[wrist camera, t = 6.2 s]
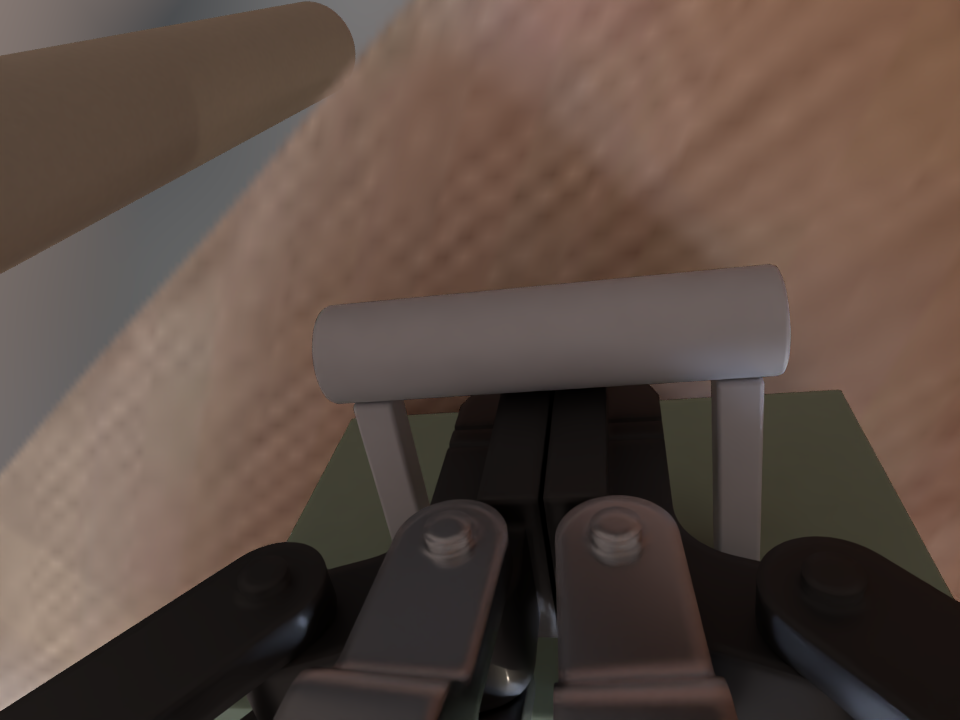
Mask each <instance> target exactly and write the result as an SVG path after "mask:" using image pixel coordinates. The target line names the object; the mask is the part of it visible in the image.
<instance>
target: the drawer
mask: <svg viewBox="0 0 960 720" xmlns="http://www.w3.org/2000/svg"><path fill="white" fill-rule="evenodd" d="M790 343H791V327H790V312H789V303H788V297H787V291H786V287H785V283H784V280H783V277H782V275H781V273H780V271H779V269H778V267H777V266H774V265H771V264H766V265H755V266H745V267H734V268H723V269H713V270H702V271H691V272H681V273H670V274H659V275H649V276H638V277H628V278H617V279H606V280H596V281H585V282H574V283H564V284H553V285H542V286H532V287H521V288H511V289H500V290H489V291H479V292H468V293H457V294H447V295H436V296H425V297H415V298H404V299H394V300H383V301H372V302H362V303H351V304H340V305H331V306H328V307H326V308H324V309H323V310H322V311H321V312H320V313H319V315H318V317H317V319H316V322H315V326H314V330H313V338H312V356H313V364H314V370H315V374H316V378H317V381H318V384H319V386H320V389H321V390H322V392H323V394H324V395H325V397H326V398H327V399H328V400H330V401H331V402H334V403H337V404H344V403H355V404H354V408H353V409H354V413H355V416H356V418H354V419H352V420H351V422H350V423H349V425H348V427H347V429H346V431H345V433H344V435H343V437H342V439H341V440H340V442H339V444H338V446H337V448H336V450H335V452H334V454H333V455H332V457H331V459H330V461H329V463H328V465H327V467H326V469H325V471H324V472H323V474H322V476H321V478H320V480H319V482H318V484H317V486H316V488H315V489H314V491H313V493H312V495H311V497H310V499H309V501H308V503H307V505H306V506H305V508H304V510H303V512H302V514H301V516H300V518H299V520H298V522H297V523H296V525H295V527H294V529H293V531H292V533H291V535H290V537H289V539H288V540H287V542H298V543H303V544H306V545H309V546H311V547H313V548H315V549H316V550H317V551H318V552H319V553H320V554H321V555H322V557H323V559H324V561H325V564H326V567H327V569H332V568H335V567H339V566H343V565H347V564H351V563H354V562H358V561H362V560H366V559H369V558H373V557H376V556H379V555H381V554H384V553H386V552H388V549H389V547H390V545H391V543H392V541H393V538H394V536H395V534H396V533H397V531H398V529H399V528H400V527H401V525H402V524H403V523H404V522H405V521H406V520H407V519H408V518H409V517H411V516H412V515H413V514H415V513H416V512H418V511H420V510H422V509H423V508H425V507H428V506H430V504H431V500H432V497H433V494H434V491H435V488H436V484H437V481H438V478H439V475H440V471H441V468H442V465H443V462H444V458H445V455H446V452H447V449H448V448H449V442H450V439H451V436H452V433H453V431H455V427H454V426H455V423H456V420H457V417H458V413H459V412H453V413H436V414H419V415H407V412H406V408H405V404H404V400H407V399H423V398H439V397H454V396H470V395H486V394H501V393H517V392H533V391H549V390H564V389H580V388H596V387H611V386H627V385H643V384H659V383H674V382H690V381H706V380H711V397H708V398H691V399H674V400H660V408H661V416H662V424H663V432H664V440H665V448H666V456H667V463H668V471H669V479H670V487H671V495H672V503H673V509H674V513H675V515H676V517H677V519H678V521H679V523H680V524H681V525H682V527H683V528H684V529H685V530H686V531H687V532H688V533H689V534H690V535H691V536H693V537H694V538H695V539H697V540H698V541H699V542H701V543H703V544H705V545H707V546H709V547H711V548H713V549H716V550H718V551H721V552H724V553H728V554H731V555H735V556H739V557H744V558H748V559H752V560H757V561H761V560H762V558H763V557H764V556H765V554H766V553H767V552H768V551H770V550H771V549H772V548H773V547H775V546H777V545H779V544H781V543H783V542H785V541H788V540H791V539H795V538H801V537H810V536H822V537H833V538H838V539H843V540H847V541H851V542H854V543H857V544H859V545H862V546H864V547H867V548H869V549H871V550H873V551H875V552H876V553H878V554H880V555H882V556H883V557H885V558H887V559H888V560H890V561H892V562H893V563H895V564H897V565H898V566H900V567H902V568H903V569H905V570H907V571H908V572H910V573H911V574H913V575H915V576H916V577H918V578H920V579H921V580H923V581H925V582H926V583H928V584H930V585H931V586H933V587H935V588H936V589H938V590H940V591H941V592H943V593H945V594H946V595H948V596H950V597H951V598H953V596H952V594H951V593H950V591H949V589H948V587H947V585H946V583H945V581H944V580H943V578H942V576H941V574H940V572H939V570H938V569H937V567H936V565H935V563H934V561H933V559H932V557H931V556H930V554H929V552H928V550H927V548H926V546H925V545H924V543H923V541H922V539H921V537H920V535H919V534H918V532H917V530H916V528H915V526H914V524H913V522H912V521H911V519H910V517H909V515H908V513H907V511H906V510H905V508H904V506H903V504H902V502H901V500H900V498H899V497H898V495H897V493H896V491H895V489H894V487H893V486H892V484H891V482H890V480H889V478H888V476H887V474H886V473H885V471H884V469H883V467H882V465H881V463H880V462H879V460H878V458H877V456H876V454H875V452H874V450H873V449H872V447H871V445H870V443H869V441H868V439H867V438H866V436H865V434H864V432H863V430H862V428H861V426H860V425H859V423H858V421H857V419H856V417H855V415H854V414H853V412H852V410H851V408H850V406H849V404H848V403H847V401H846V399H845V397H844V395H843V393H842V391H841V390H827V391H810V392H793V393H776V394H764V380H763V378H762V377H769V376H779V375H781V374H783V373H784V372H785V370H786V367H787V364H788V360H789V354H790ZM953 599H954V598H953ZM534 678H535V685H536V692H535V700H534V705H533V711H532V717H531V720H553V690H554V683H555V682H558V638H555V637H538V643H537V654H536V664H535V669H534ZM252 710H253V709H252V707H251V705H250V703H249V701H248V699H247V697H246V696H244V697H243V698H242V699H240V700H239V701H238V702H236V703H235V704H234V705H232V706H231V707H230V708H229V709H227V710H226V711H225V712H223V713H222V714H221V715H219V716H218V717H217V718H215V719H214V720H240V719H241V718H243V717H244V716H245V715H246V714H248V713H249V712H250V711H252Z"/></svg>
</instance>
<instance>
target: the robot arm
mask: <svg viewBox="0 0 960 720" xmlns="http://www.w3.org/2000/svg"><path fill="white" fill-rule="evenodd" d="M454 427H455V431H453V433H452V436H451V439H450V442H449V448H448V449H447V452H446V455H445V458H444V462H443V465H442V468H441V471H440V475H439V478H438V481H437V484H436V488H435V491H434V494H433V497H432V500H431V504H430V506H428V507H425V508H423V509H422V510H420V511H418V512H416V513H415V514H413V515H412V516H411V517H409V518H408V519H407V520H406V521H405V522H404V523H403V524H402V525H401V527H400V528H399V529H398V531H397V533H396V534H395V536H394V538H393V541H392V543H391V545H390V547H389V549H388V552H386V553H384V554H381V555H379V556H376V557H373V558H369V559H366V560H362V561H358V562H354V563H351V564H347V565H343V566H339V567H335V568H332V569H327V567H326V564H325V561H324V559H323V557H322V555H321V554H320V553H319V552H318V551H317V550H316V549H315V548H313V547H311V546H309V545H306V544H303V543H298V542H282V543H275V544H271V545H267V546H264V547H261V548H258V549H256V550H254V551H251V552H249V553H247V554H246V555H244V556H242V557H240V558H239V559H237V560H236V561H234V562H232V563H231V564H229V565H228V566H226V567H225V568H223V569H221V570H220V571H218V572H217V573H215V574H214V575H212V576H211V577H209V578H207V579H206V580H204V581H203V582H201V583H200V584H198V585H197V586H195V587H193V588H192V589H190V590H189V591H187V592H186V593H184V594H183V595H181V596H179V597H178V598H176V599H175V600H173V601H172V602H170V603H168V604H167V605H165V606H164V607H162V608H161V609H159V610H158V611H156V612H154V613H153V614H151V615H150V616H148V617H147V618H145V619H144V620H142V621H140V622H139V623H137V624H136V625H134V626H133V627H131V628H130V629H128V630H126V631H125V632H123V633H122V634H120V635H119V636H117V637H115V638H114V639H112V640H111V641H109V642H108V643H106V644H105V645H103V646H101V647H100V648H98V649H97V650H95V651H94V652H92V653H91V654H89V655H87V656H86V657H84V658H83V659H81V660H80V661H78V662H77V663H75V664H73V665H72V666H70V667H69V668H67V669H66V670H64V671H63V672H61V673H59V674H58V675H56V676H55V677H53V678H52V679H50V680H48V681H47V682H45V683H44V684H42V685H41V686H39V687H38V688H36V689H34V690H33V691H31V692H30V693H28V694H27V695H25V696H24V697H22V698H20V699H19V700H17V701H16V702H14V703H13V704H11V705H10V706H8V707H6V708H5V709H3V710H2V711H0V720H214V719H215V718H217V717H218V716H219V715H221V714H222V713H223V712H225V711H226V710H227V709H229V708H230V707H231V706H232V705H234V704H235V703H236V702H238V701H239V700H240V699H242V698H243V697H244V696H246V697H247V699H248V701H249V703H250V705H251V707H252V709H253V710H252V711H250V712H249V713H248V714H246V715H245V716H244V717H243V718H241V719H240V720H531V717H532V711H533V705H534V700H535V692H536V685H535V678H534V669H535V664H536V654H537V643H538V637H555V638H558V682H555V683H554V690H553V720H960V602H958V601H956V600H955V599H953V598H951V597H950V596H948V595H946V594H945V593H943V592H941V591H940V590H938V589H936V588H935V587H933V586H931V585H930V584H928V583H926V582H925V581H923V580H921V579H920V578H918V577H916V576H915V575H913V574H911V573H910V572H908V571H907V570H905V569H903V568H902V567H900V566H898V565H897V564H895V563H893V562H892V561H890V560H888V559H887V558H885V557H883V556H882V555H880V554H878V553H876V552H875V551H873V550H871V549H869V548H867V547H864V546H862V545H859V544H857V543H854V542H851V541H847V540H843V539H838V538H833V537H822V536H810V537H801V538H795V539H791V540H788V541H785V542H783V543H781V544H779V545H777V546H775V547H773V548H772V549H771V550H770V551H768V552H767V553H766V554H765V556H764V557H763V558H762V560H761V561H757V560H752V559H748V558H744V557H739V556H735V555H731V554H728V553H724V552H721V551H718V550H716V549H713V548H711V547H709V546H707V545H705V544H703V543H701V542H699V541H698V540H697V539H695V538H694V537H693V536H691V535H690V534H689V533H688V532H687V531H686V530H685V529H684V528H683V527H682V525H681V524H680V523H679V521H678V519H677V517H676V515H675V513H674V509H673V503H672V495H671V487H670V479H669V471H668V463H667V456H666V448H665V440H664V432H663V424H662V416H661V408H660V400H659V395H658V394H657V393H656V391H655V390H654V389H653V388H652V387H651V386H650V385H649V384H643V385H627V386H611V387H596V388H580V389H564V390H549V391H533V392H517V393H501V394H486V395H471V396H470V397H469V398H468V399H467V400H466V401H465V402H464V403H463V404H462V405H461V407H460V410H459V413H458V417H457V420H456V423H455V426H454Z"/></svg>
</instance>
